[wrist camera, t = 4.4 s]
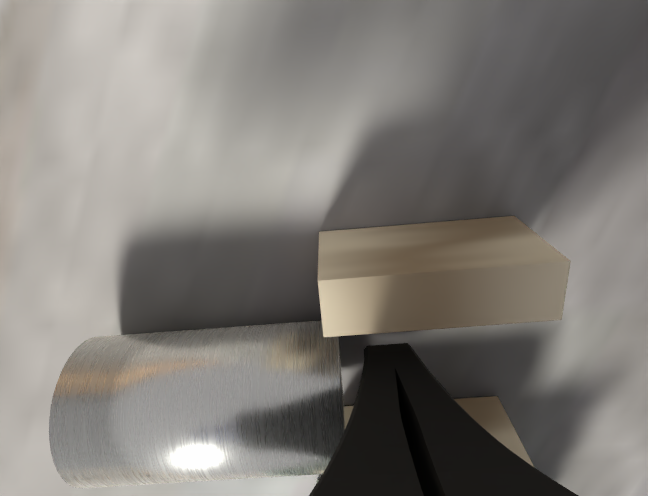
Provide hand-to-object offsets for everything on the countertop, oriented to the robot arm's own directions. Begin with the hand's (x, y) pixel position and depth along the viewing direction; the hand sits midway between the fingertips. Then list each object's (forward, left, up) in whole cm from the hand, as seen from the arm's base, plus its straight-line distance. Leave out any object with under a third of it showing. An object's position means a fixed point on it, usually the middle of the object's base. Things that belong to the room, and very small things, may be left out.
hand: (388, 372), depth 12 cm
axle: (+5, 0, -1) cm, 5 cm away
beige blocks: (-1, 0, -1) cm, 2 cm away
